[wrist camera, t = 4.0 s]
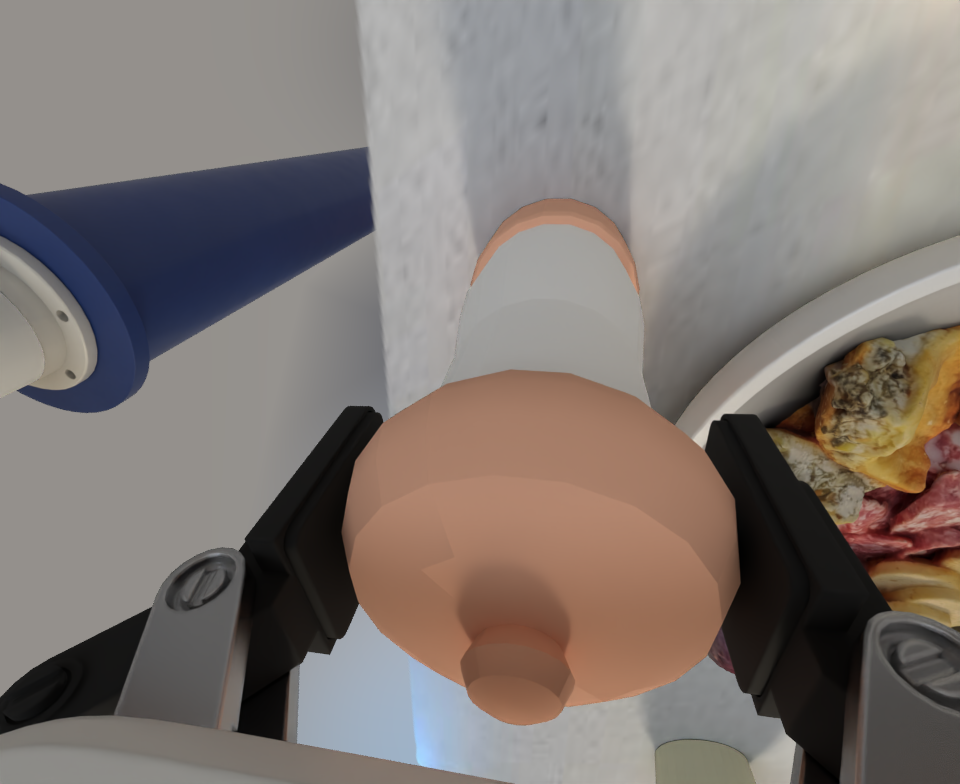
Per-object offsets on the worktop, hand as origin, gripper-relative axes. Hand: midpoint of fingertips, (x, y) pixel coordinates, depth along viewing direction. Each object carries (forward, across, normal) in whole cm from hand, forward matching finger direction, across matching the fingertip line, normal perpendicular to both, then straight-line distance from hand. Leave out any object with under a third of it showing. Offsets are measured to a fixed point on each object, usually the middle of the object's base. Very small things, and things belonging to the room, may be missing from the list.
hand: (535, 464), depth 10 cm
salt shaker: (+14, 0, 0) cm, 14 cm away
